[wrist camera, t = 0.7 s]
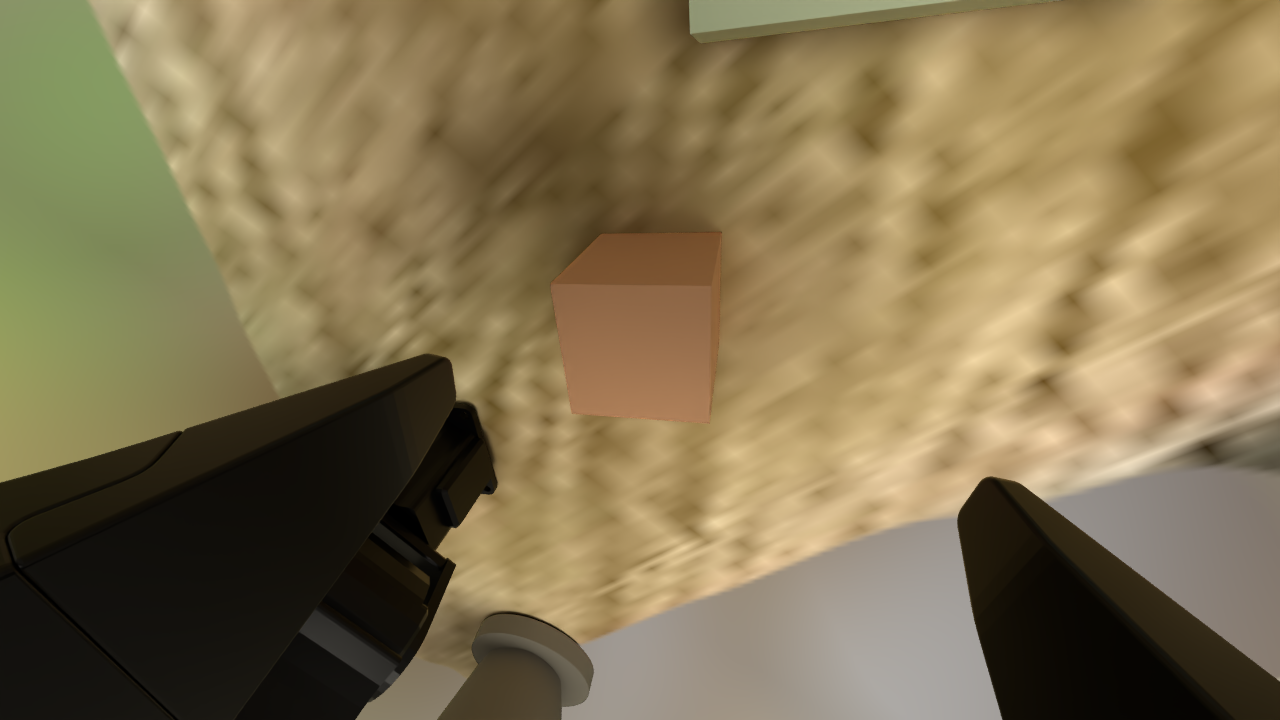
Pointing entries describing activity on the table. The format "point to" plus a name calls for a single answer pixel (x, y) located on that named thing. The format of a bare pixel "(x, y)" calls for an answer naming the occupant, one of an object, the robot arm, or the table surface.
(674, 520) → the table surface
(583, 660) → the vase
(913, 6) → the sage slab
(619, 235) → the terracotta block
